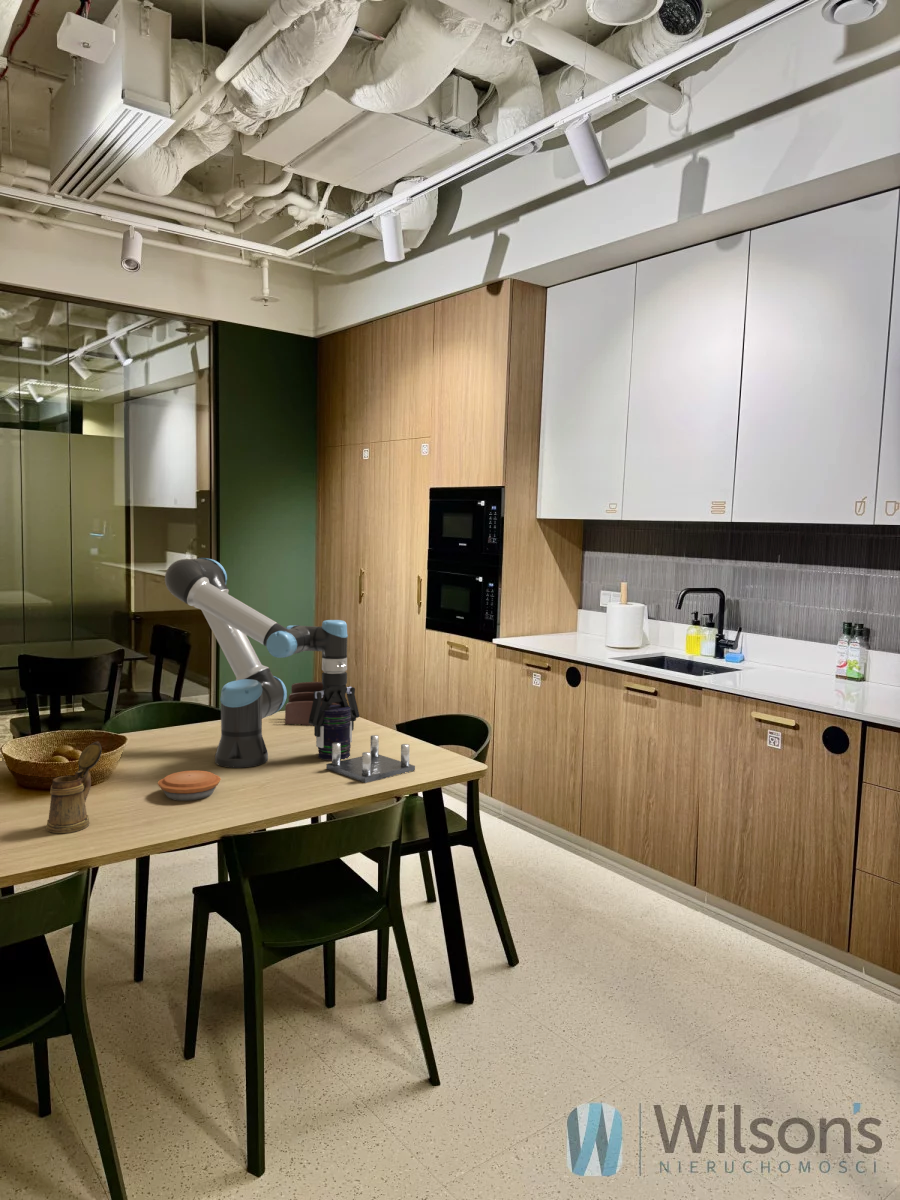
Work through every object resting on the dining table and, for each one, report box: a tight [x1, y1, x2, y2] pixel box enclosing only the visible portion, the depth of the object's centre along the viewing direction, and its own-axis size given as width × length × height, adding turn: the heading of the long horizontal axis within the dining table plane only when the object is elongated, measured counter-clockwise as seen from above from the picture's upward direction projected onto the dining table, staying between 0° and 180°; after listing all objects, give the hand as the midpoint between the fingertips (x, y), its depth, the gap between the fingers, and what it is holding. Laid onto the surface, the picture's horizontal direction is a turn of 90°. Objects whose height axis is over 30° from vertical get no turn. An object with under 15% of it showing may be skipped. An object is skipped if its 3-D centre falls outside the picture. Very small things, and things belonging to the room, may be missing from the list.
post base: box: [325, 734, 416, 784], centre depth 243 cm, size 18×18×8 cm
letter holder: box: [284, 681, 340, 726], centre depth 303 cm, size 10×20×14 cm, turn 86°
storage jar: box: [317, 705, 352, 761], centre depth 257 cm, size 10×10×15 cm
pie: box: [157, 770, 222, 802], centre depth 219 cm, size 15×16×5 cm
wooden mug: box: [45, 740, 103, 834], centre depth 195 cm, size 9×14×18 cm, turn 153°
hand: (334, 744), depth 258 cm, fingers closed on storage jar, 10 cm apart
